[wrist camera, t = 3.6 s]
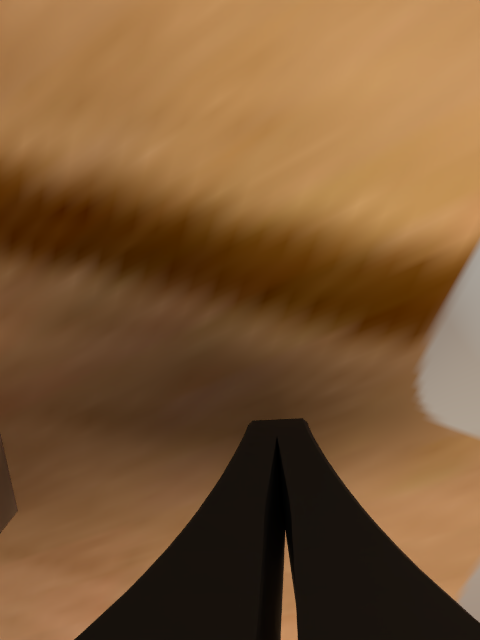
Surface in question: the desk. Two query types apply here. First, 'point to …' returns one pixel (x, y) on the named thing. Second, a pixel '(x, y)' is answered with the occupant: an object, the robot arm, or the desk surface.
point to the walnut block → (5, 492)
